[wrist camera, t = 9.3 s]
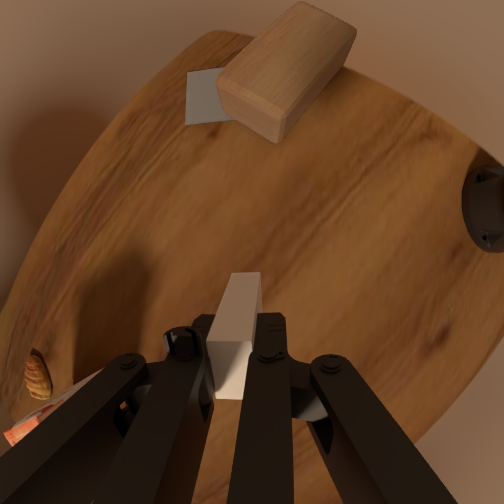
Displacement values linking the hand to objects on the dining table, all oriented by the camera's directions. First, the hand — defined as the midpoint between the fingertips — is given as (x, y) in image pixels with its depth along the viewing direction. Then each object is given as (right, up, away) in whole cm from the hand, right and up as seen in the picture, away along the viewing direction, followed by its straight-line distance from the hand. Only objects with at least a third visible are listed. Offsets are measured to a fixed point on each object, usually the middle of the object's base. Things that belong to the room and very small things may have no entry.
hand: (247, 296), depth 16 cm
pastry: (-43, -24, +28) cm, 57 cm away
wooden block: (-1, +19, +18) cm, 27 cm away
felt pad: (-4, +27, +24) cm, 36 cm away
